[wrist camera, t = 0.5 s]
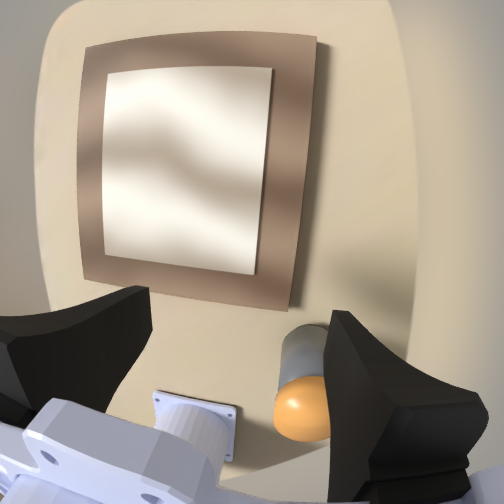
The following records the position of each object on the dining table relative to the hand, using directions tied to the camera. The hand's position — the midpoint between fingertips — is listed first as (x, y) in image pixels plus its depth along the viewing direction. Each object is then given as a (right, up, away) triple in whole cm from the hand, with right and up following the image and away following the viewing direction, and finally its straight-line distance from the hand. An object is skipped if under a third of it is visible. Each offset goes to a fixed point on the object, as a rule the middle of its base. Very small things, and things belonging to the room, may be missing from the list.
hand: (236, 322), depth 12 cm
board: (-4, +8, +8) cm, 12 cm away
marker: (+5, -4, +11) cm, 13 cm away
